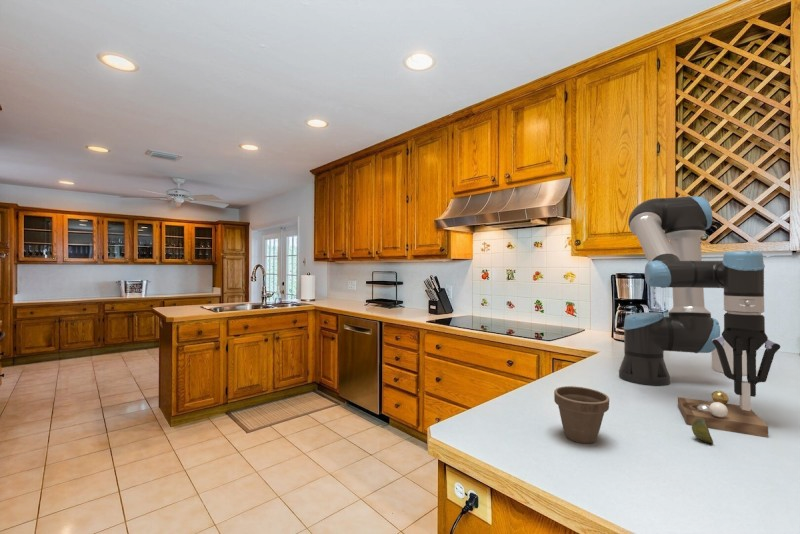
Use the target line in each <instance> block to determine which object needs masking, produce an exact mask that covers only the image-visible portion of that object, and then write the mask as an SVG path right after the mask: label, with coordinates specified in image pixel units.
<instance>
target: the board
mask: <svg viewBox="0 0 800 534" xmlns="http://www.w3.org/2000/svg"><path fill="white" fill-rule="evenodd" d="M712 403H714V401H710V400H709V401H708V400H703V399H697V398H695V399H694V398H689V397H687V398H686V397H681V396H680V397H679V396H677V407H678V410H679V412H680V414H681V415H682V418H683V419H684V422H685V424H686V425H688V426H693V423H694V421H695V420H696V419H698V418H704V420H705V423H706V425H707V427H708V429H713V430H719V431H725V432H732V433H737V434H744V435H750V436H757V437H763V438H769V426H768V425H767V424H766V423H765V421H763V420H762V419H761V418H760V417H759V416H758V415H757V413H756V412H754V410H752V409H751V411H748V410H742V409H741V407H740V404H732V403H726V404H724V405H725V406H726V407H727V409H728V414H727V415H726V416H725V417H716V416H714V415H713V414H712V413H711V412H710V411H702V410H698V409H696V408H697V406H698V405H700V404H707V405H709V406H710V405H711V404H712Z"/></svg>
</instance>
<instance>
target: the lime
mask: <svg viewBox="0 0 800 534" xmlns="http://www.w3.org/2000/svg"><path fill="white" fill-rule="evenodd" d="M691 431H692V432H693V433H692V434H693V436H695V437H696V438H697V439H699V440H700V441H702V442H704V443H707V444H714V441H713V438H712V436H711V432H710V428H708V427H707V425H706V423H705V420H704V418H698V419H696V420H695V421H694V423H693V425H691Z"/></svg>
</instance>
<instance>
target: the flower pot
mask: <svg viewBox="0 0 800 534" xmlns="http://www.w3.org/2000/svg"><path fill="white" fill-rule="evenodd" d="M553 394H554V395H553V397H554V400H553V401H554V403H555V404H556V406H557V405H558V406H557V407H558V410H559V415H560V416H559V417H560V421H561V424H562V429H563V432H564V435H565V437H566V438H568V439H569V440H570V441H574V442H576V443H580V444H591V443H592V444H593V443H595V442H596V440H597V438H598V436H599V434H600V433H599V432H600V429H601V425H602V423H603V418H604V416H605V415H604V414H605V413H606V412H608V411H609V408H610V397H609V396H608V395H607V394H605V393H604V392H601V391H599V390H596V389H593V388H590V387H589V388H588V387H582V386H576V385H575V386H573V385H570V386H568V385H567V386H566V385H565V386H559V387H557V388H555V389H554V392H553Z"/></svg>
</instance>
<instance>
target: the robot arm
mask: <svg viewBox="0 0 800 534" xmlns="http://www.w3.org/2000/svg"><path fill="white" fill-rule="evenodd" d="M627 223H628V227H629V230H630V232H631V233H632V234H633V235H634V236H636V237H637V238H636V239H638V242H639V245H640V246H641V248H642V251H643V253H644V255H645V258H646V260H647V262H646V264H645V266H644V277H645V283H646V285H648V286H649V287H654V288H656V287H657V288H663V289H664V288H665V289H666V288H672V302H673V303H672V304H673V306H672V308H671V309H670V310H669V311H668V316H665V315H664V313H663V312H658V311H657V312H656V311H655V312H653V311H652V312H650V311H649V312H637V313H636V312H635V313H631V314H628V315H626V316H625V317H624V323H623V333H624V334H623V335H624V336H623V337H624V339H623V340H624V341H623V342H624V347H623V349H624V355H623V358H622V361H621V364H620V365H619V366H620V367H619V369H618V377H619V378H620V379H622V380H624V381H627V382H630V383H633V384H639V385H640V384H641V385H646V386H648V385H649V386H666V385H669V384H670V383H671V375H670V373H669V370H668V368H667V365H666V362H665V359H664V357H665V356H664V353H665V352H677V353H678V352H681V353H694V354H708V353H712V351H713V350H715V348H716V349H717V352H718V356H719V359H720V362H721V365H722V368H723V371H724V373H723V374H724V376H725V377H726V378H727V379H729V380H732V381H733V391H734V394H735V395H738V396H739V405H740V407H741V409H742V410H748V411H751V410H752V409H751V405H752V403H751V397H752V398H753V397H754V398H755V397H756V396H757V384H759V383H766V381H767V380H768V376H769V373H770V370H771V367H772V364H773V360H774V357H775V354H776V353H777V352H778V351H779V350H780V349H781V345H780V344H779V343H776V342H773V340H770V339H769V338H768V335H767V334H766V325H765V324H766V322H765V318H766V317H765V316H764V315H763V314H762V313H765V267H766V265H765V262H764V255H763V254H764V253H762V252H760V251H759V250H736V251H735V250H733V251H726V252H724V254H723V256H722V260H702V259H703V258H702V245H701V244H702V243H701V238H702V237H703V236H704V235H705V234H706V231H707V230H709V229H710V228H711V227H712V223H713V210H712V207H711V204H710V203H709V200H707V199H706V198H705V197H704V196H689V195H688V196H678V197H662V198H661V197H660V198H651V199H648V200H645V201H642V202H640V203H639V204H638V205H637V206H636V207H634V208H633V210H632V211H631V213H630V215H629V216H628V222H627ZM704 288H705V289H723V310H724V311H725V313H724V314H723V331H722V332H721V326H720V323H719V321H718V320H717V319H716V318H714V317H712V313H711V312H710V311H709V310H708V309H707V308H706V306H705V293H704ZM724 340H725V341H726V342H727V343H728V344H729V345H730V346H731V347H732V348H733V374H732V372H731V369H730V366H729V363H728V360H727V357H726V353H725V350H724V348H723V346H724ZM763 345H764V348H765V350H764V351H763V355H762V358H761V361H760V365H759V367H758V371H757V351H758V350H759V349H760V348H761V347H762V346H763ZM745 350H746V354H747V376H746V380H747V381H746V380H743V376H742V354H743V351H745ZM664 351H665V352H664Z"/></svg>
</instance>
